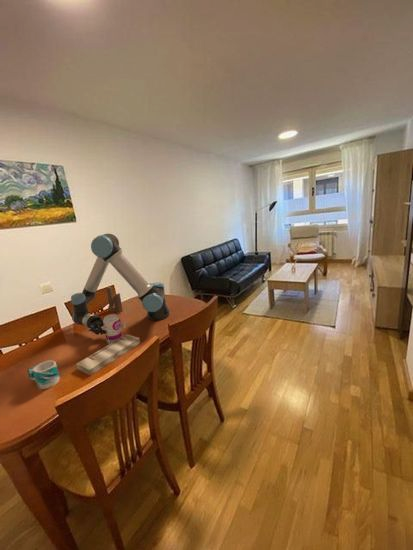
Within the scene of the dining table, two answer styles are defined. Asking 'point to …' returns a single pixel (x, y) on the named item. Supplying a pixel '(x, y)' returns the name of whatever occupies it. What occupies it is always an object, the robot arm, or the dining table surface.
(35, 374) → the mug
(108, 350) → the grey compartment tray
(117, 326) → the supplement can
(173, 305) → the dining table surface
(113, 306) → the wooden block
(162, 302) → the robot arm
